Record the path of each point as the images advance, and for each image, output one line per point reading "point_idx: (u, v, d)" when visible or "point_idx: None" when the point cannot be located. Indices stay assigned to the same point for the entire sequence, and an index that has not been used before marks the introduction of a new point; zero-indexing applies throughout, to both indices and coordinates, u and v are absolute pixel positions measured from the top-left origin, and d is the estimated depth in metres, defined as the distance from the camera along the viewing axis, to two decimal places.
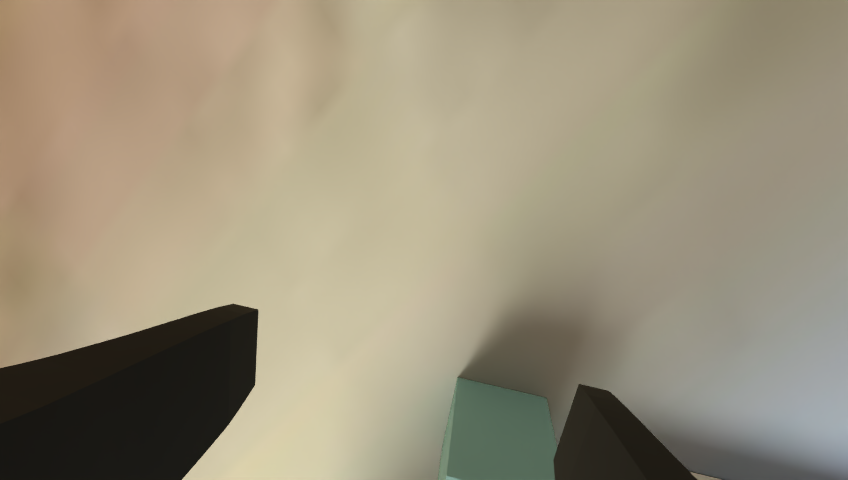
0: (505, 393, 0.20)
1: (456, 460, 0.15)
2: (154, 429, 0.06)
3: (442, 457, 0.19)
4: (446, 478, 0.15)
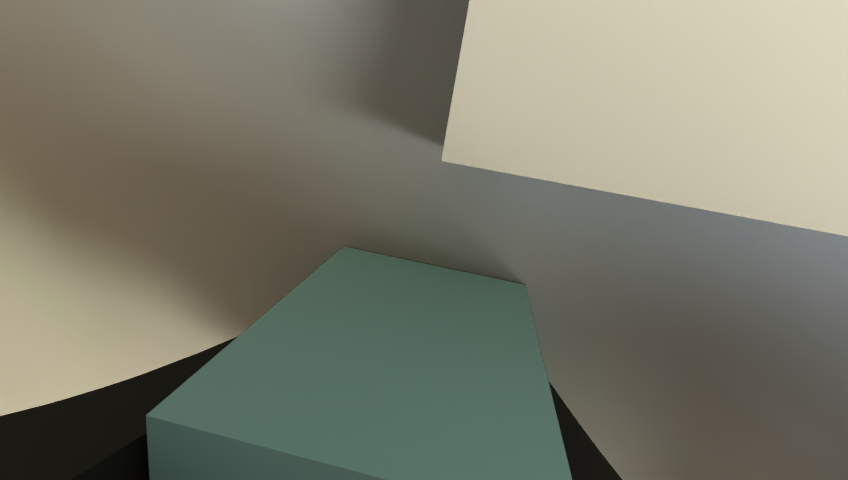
0: None
1: None
2: None
3: None
4: None
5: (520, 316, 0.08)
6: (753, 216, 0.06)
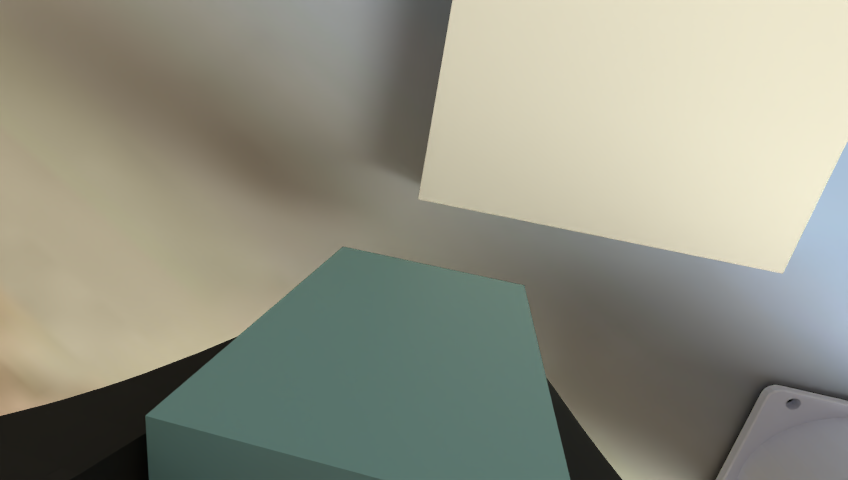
0: None
1: None
2: None
3: None
4: None
5: (519, 317, 0.08)
6: (555, 226, 0.13)
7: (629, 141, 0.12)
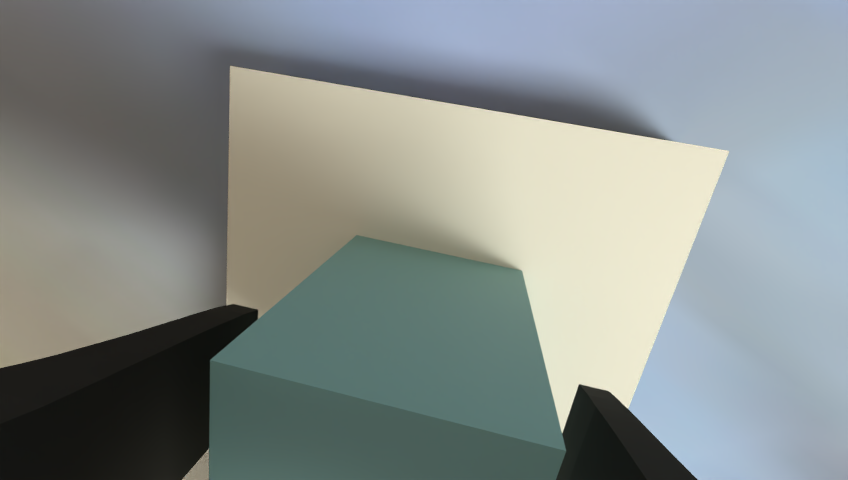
0: None
1: None
2: (154, 429, 0.06)
3: None
4: None
5: (517, 296, 0.09)
6: None
7: None
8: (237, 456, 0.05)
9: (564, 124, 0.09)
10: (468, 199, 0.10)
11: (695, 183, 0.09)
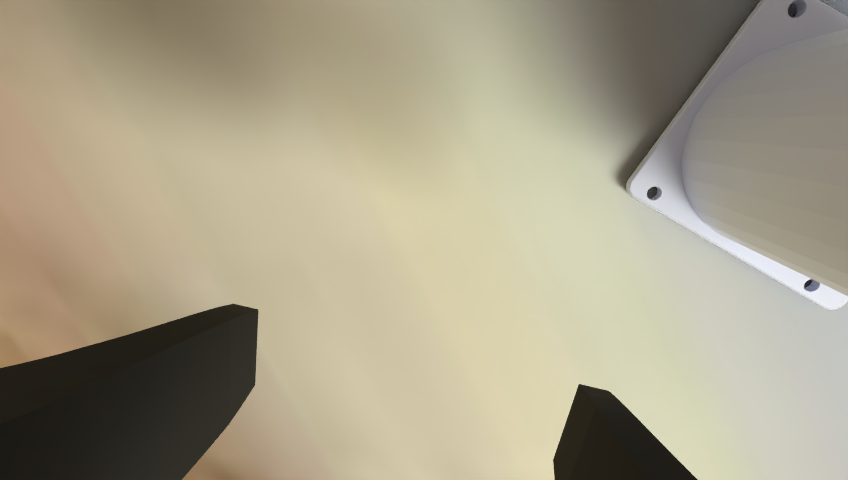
0: None
1: None
2: (154, 429, 0.06)
3: None
4: None
5: None
6: None
7: None
8: None
9: None
10: None
11: None
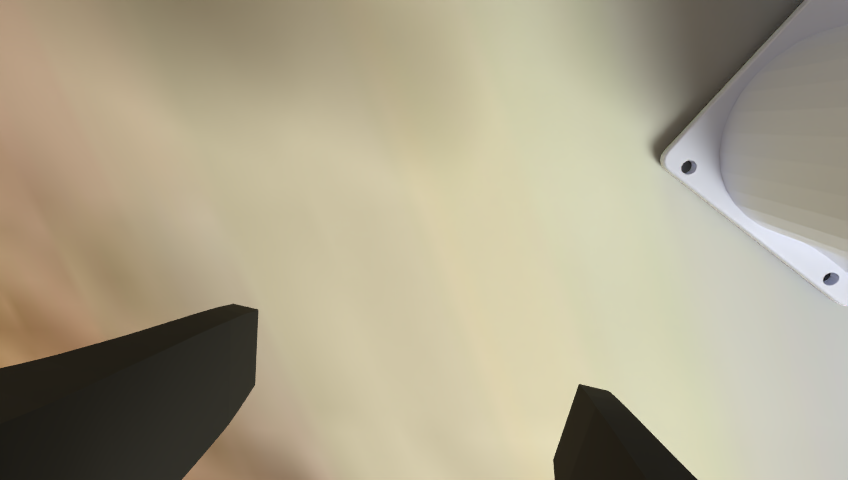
0: None
1: None
2: (154, 429, 0.06)
3: None
4: None
5: None
6: None
7: None
8: None
9: None
10: None
11: None
